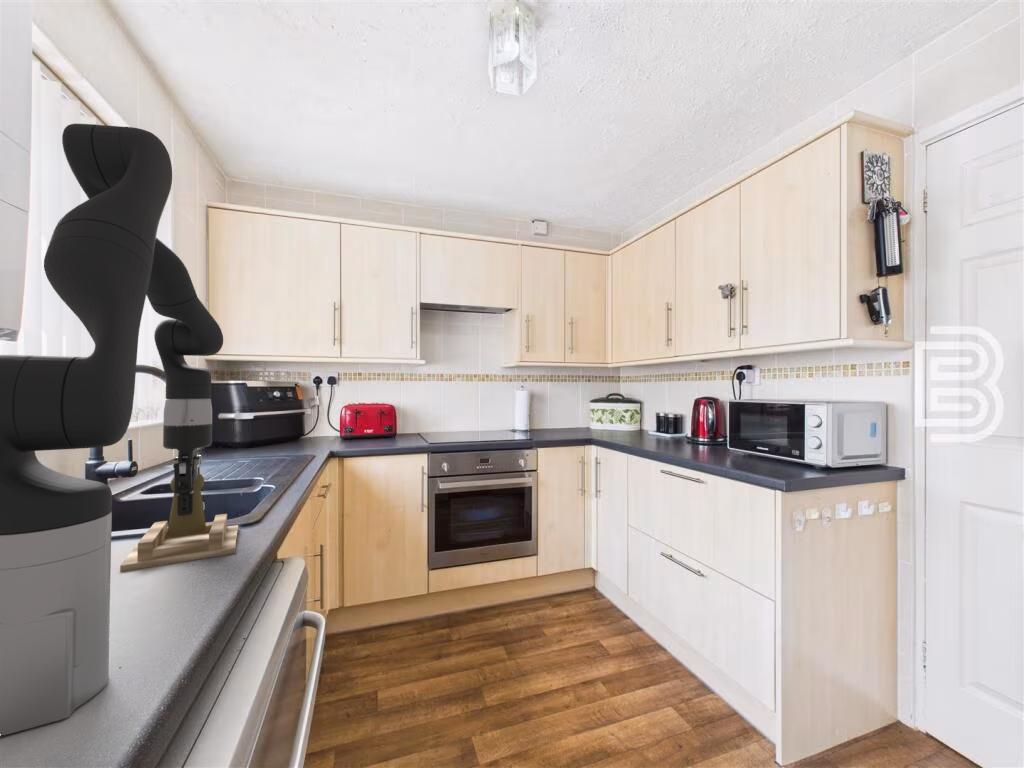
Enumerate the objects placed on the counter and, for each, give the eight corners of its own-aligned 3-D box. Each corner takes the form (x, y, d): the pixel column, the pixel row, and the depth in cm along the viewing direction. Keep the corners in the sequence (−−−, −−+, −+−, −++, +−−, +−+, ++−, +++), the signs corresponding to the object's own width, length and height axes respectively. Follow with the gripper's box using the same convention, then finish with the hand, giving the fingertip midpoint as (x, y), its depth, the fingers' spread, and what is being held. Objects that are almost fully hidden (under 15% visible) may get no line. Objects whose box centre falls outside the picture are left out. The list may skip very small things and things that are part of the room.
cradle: (234, 553, 80) (234, 531, 80) (120, 571, 71) (120, 547, 72) (238, 529, 93) (238, 511, 93) (142, 542, 85) (143, 522, 85)
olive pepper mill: (176, 527, 85) (177, 471, 85) (211, 525, 86) (212, 470, 86) (159, 537, 79) (160, 477, 79) (197, 535, 80) (198, 476, 80)
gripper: (208, 424, 79) (207, 518, 78) (215, 419, 91) (214, 501, 90) (155, 425, 75) (154, 524, 74) (170, 421, 87) (169, 505, 87)
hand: (187, 511), depth 82 cm, fingers closed on olive pepper mill, 4 cm apart
